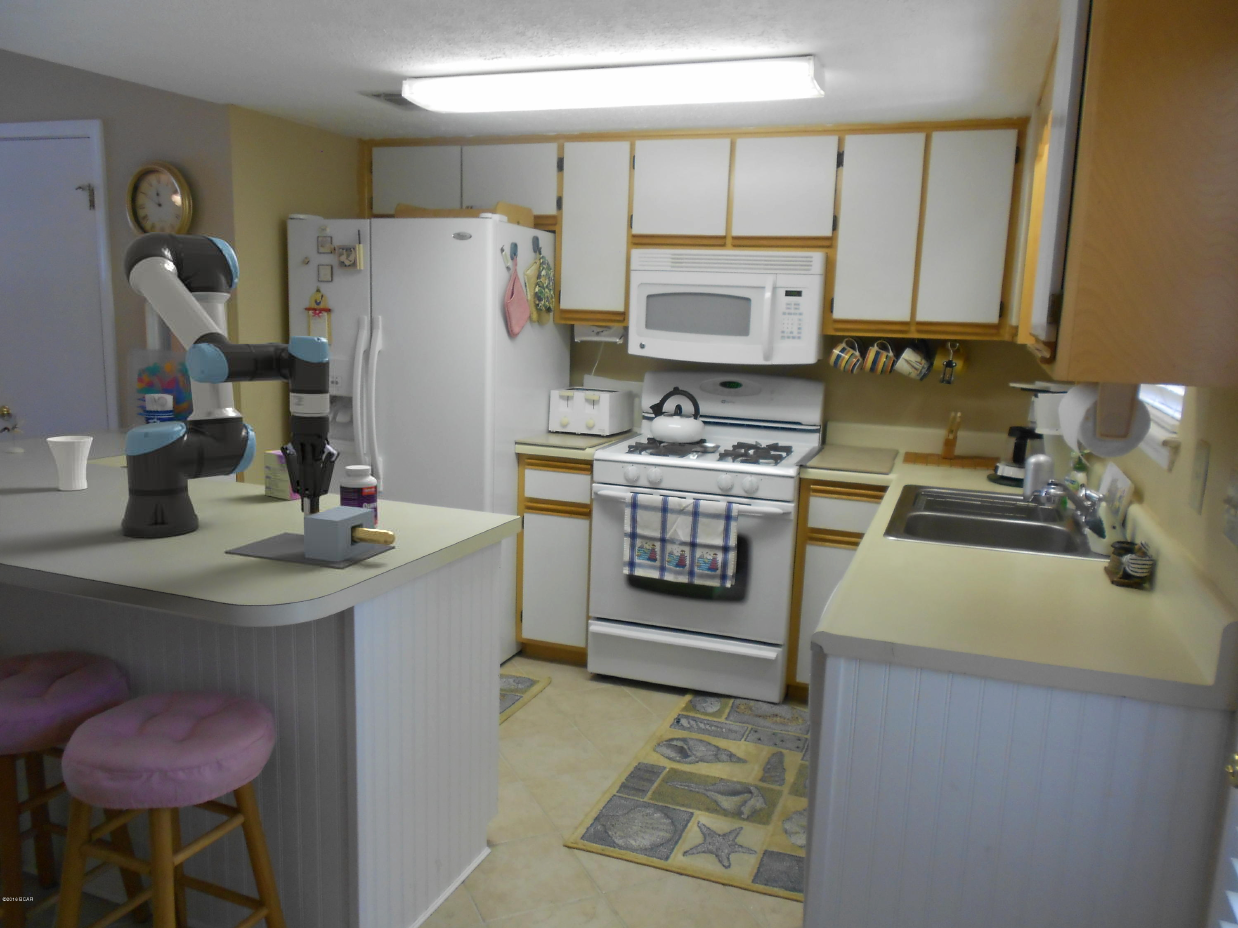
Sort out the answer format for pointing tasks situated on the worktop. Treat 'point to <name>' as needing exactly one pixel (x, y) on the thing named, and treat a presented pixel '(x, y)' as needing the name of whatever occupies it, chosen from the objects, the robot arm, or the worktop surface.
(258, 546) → the mat
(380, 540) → the pin
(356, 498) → the pill bottle
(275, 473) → the box
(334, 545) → the block
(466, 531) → the worktop surface
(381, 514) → the worktop surface
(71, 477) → the cup
